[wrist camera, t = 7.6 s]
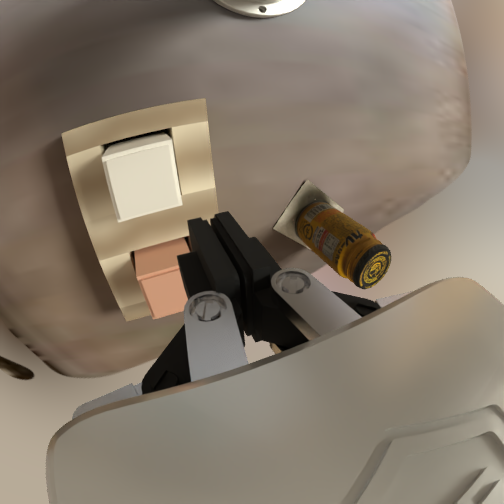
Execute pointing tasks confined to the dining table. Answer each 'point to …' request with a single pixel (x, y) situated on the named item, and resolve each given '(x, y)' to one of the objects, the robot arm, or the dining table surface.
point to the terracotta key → (162, 277)
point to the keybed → (151, 225)
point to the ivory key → (142, 176)
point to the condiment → (334, 237)
